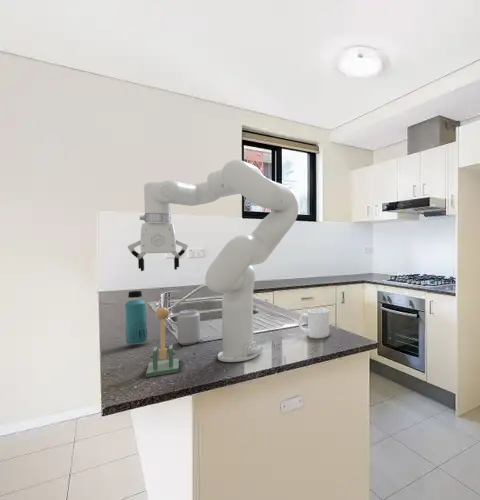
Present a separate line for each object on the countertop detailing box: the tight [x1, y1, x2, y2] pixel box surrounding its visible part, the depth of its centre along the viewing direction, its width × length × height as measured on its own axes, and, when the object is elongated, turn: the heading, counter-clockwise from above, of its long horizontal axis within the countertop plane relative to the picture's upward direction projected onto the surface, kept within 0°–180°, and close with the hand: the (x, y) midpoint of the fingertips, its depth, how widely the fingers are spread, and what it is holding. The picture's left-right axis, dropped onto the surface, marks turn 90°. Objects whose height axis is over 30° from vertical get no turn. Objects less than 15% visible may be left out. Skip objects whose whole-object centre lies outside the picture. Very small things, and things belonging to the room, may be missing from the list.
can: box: [176, 309, 201, 346], centre depth 132 cm, size 8×8×12 cm
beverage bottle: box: [124, 290, 148, 345], centre depth 129 cm, size 6×7×20 cm
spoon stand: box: [145, 344, 180, 378], centre depth 105 cm, size 10×8×6 cm
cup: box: [298, 308, 330, 339], centre depth 141 cm, size 8×12×10 cm
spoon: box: [154, 306, 170, 361], centre depth 106 cm, size 15×4×4 cm
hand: (159, 270), depth 120 cm, fingers open, 9 cm apart
